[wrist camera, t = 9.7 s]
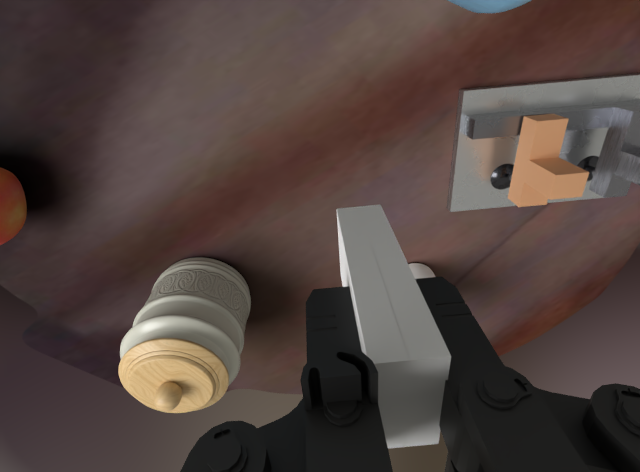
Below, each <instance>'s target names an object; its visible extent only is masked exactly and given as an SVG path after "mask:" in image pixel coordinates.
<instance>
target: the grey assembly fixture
mask: <svg viewBox="0 0 640 472" xmlns="http://www.w3.org/2000/svg"><path fill="white" fill-rule="evenodd" d="M544 114H556V115H559V116H562V117H565V118H568V119H569V120H568V123H567V127H566V131H565V135H564V139H563V143H562V147H561V150H560V154H559V158H561V159H563V160H565V161H567V162H569V163H571V164H573V165H575V166H578V167H580V168H582V169H584V170H586V171H588V172H589V175H588V178H587V182H586V185H585V188H584V191H583V195H582V197H574V198H563V199H552V200H549V199H548V200H547V203H551V202H562V201H572V200H583V199H594V198H607V197H618V196H626V195H627V192H628V190H629V187H630V184H631V182H633V183H636V184H638V185H640V73H634V74H623V75H612V76H601V77H590V78H579V79H568V80H557V81H546V82H535V83H524V84H513V85H502V86H491V87H480V88H469V89H459V98H458V107H457V117H456V126H455V135H454V145H453V154H452V163H451V172H450V182H449V191H448V200H447V209H448V210H449V211H450V212H453V211H464V210H475V209H486V208H496V207H507V206H517V205H516V204H514V203H513V202H512V201H511V200H509V199H508V193H509V188H510V183H511V181H510V180H509V177H510V175H512V173H513V168H514V163H515V158H516V153H517V148H518V143H519V138H520V133H521V128H522V123H523V118H524V116H533V115H544Z"/></svg>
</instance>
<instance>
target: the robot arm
mask: <svg viewBox="0 0 640 472" xmlns="http://www.w3.org/2000/svg"><path fill="white" fill-rule="evenodd" d="M447 1H450V2H452V3H454V4H456V5H458V6H461V7H463V8H465V9H467V10H469V11H472V12H476V13H497V12H504V11H507V10H510V9H513V8H516V7H519V6H521V5H523V4H526V3H528V2H530V1H531V0H447ZM337 223H338V239H339V255H340V272H341V279H342V285H343V287H336V288H325V289H314V290H313V291H312V293H311V294H310V296H309V298H308V300H307V302H306V330H307V364H306V365H305V366H304V368H303V372H302V376H301V386H302V392H303V399H302V400H301V401H300V403H299V404H298V406H297V407H296V408H295V409H293V410H292V411H291V412H290V413H289V414H287V415H286V416H284V417H282V418H280V419H278V420H276V421H274V422H271V423H269V424H267V425H264V426H262V427H260V428H256V427H255V426H253V425H252V424H249V423H246V422H243V421H229V422H225V423H222V424H220V425H218V426H215V427H213V428H212V429H210V430H209V431H208V432H207V433H205V434H204V435H203V436H202V437H201V438H199V440H198V441H197V443H196V444H195V446H194V447H193V449H192V450H191V452H190V453H189V455H188V457H187V459H186V461H185V463H184V465H183V467H182V470H181V471H180V472H393V471H392V466H391V461H390V457H389V452H388V448H398V447H408V446H419V445H430V444H438V442H439V435H440V429H441V432H442V435H443V438H444V440H445V443H446V446H447V449H448V455H447V461H446V467H445V472H640V389H638V388H635V387H633V386H627V385H621V384H609V385H602V386H601V387H600V388H598V389H597V390H595V391H594V392H593V394H592V396H591V399H585V398H579V397H574V396H568V395H563V394H557V393H552V392H548V391H545V390H541V389H538V388H536V387H534V386H533V385H532V384H531V383H530V382H529V381H528V380H527V379H526V377H524V376H523V375H521V374H520V373H518V372H516V371H515V370H513V369H511V368H509V367H506V366H504V364H503V363H502V362H501V360H500V359H499V357H498V355H497V353H496V352H495V350H494V349H493V347H492V345H491V344H490V342H489V340H488V339H487V337H486V335H485V334H484V332H483V331H482V329H481V327H480V326H479V324H478V322H477V321H476V319H475V318H474V316H472V313H471V311H470V309H469V308H468V306H467V304H465V301H464V300H463V298H462V296H461V295H460V293H459V291H458V290H457V288H456V287H455V286H453V285H452V284H451V283H449V282H448V281H447V280H445V279H444V278H443V277H431V278H420V279H415V278H414V276H413V273H412V271H411V269H410V267H409V265H408V263H407V261H406V258H405V256H404V254H403V252H402V250H401V248H400V246H399V243H398V241H397V239H396V237H395V235H394V233H393V230H392V228H391V226H390V224H389V222H388V220H387V218H386V215H385V213H384V211H383V209H382V207H381V205H371V206H361V207H350V208H339V209H337Z"/></svg>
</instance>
